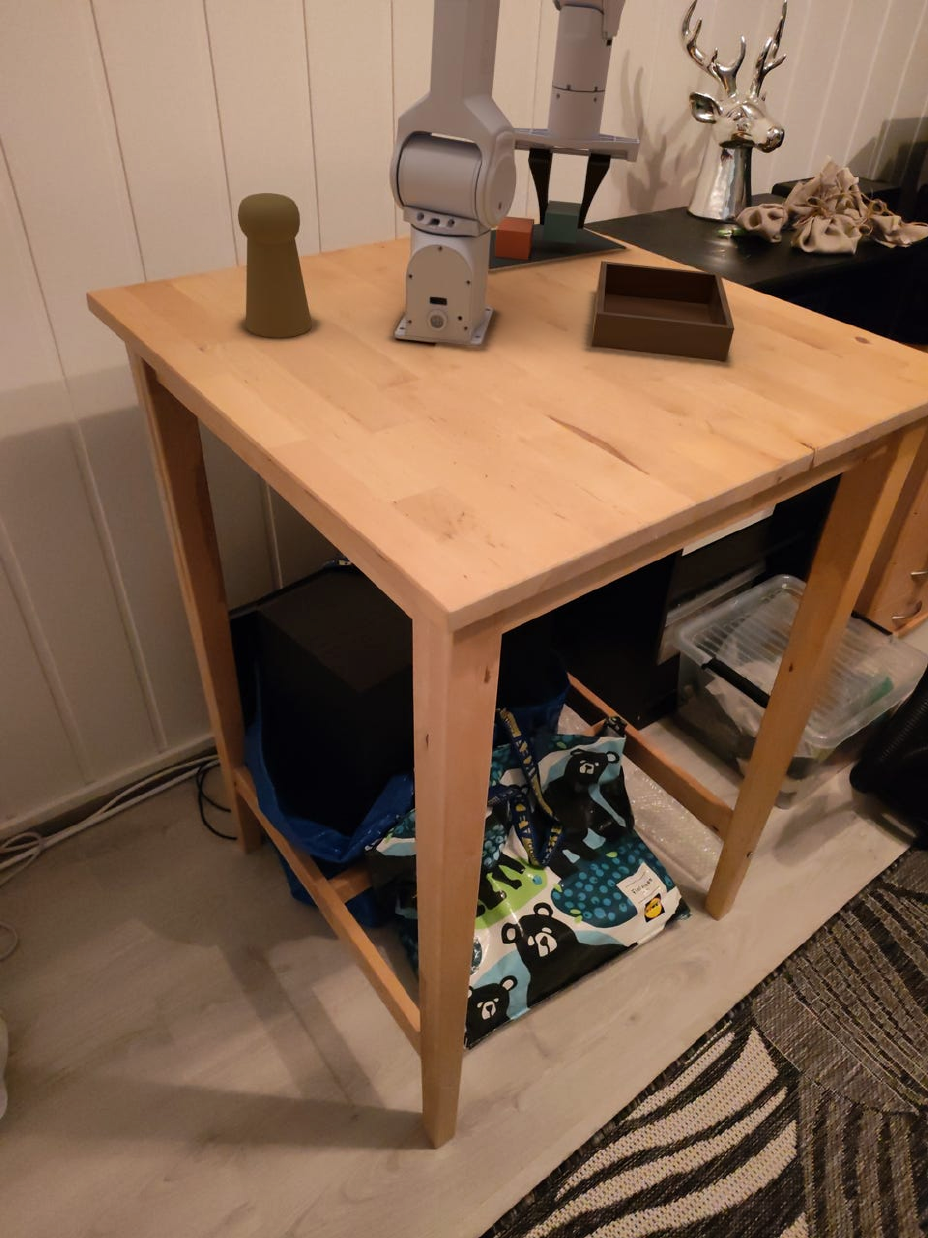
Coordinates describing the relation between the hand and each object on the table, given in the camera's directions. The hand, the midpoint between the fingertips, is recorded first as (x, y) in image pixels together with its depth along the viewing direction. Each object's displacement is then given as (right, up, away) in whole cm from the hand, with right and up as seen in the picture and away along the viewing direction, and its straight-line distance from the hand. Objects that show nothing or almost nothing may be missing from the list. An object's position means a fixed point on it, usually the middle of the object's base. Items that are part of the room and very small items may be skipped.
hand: (562, 224), depth 97 cm
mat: (-4, -1, +3) cm, 5 cm away
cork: (-29, -19, -20) cm, 39 cm away
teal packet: (0, -1, +1) cm, 1 cm away
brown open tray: (+7, -17, -15) cm, 24 cm away
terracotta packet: (-6, -3, 0) cm, 7 cm away
